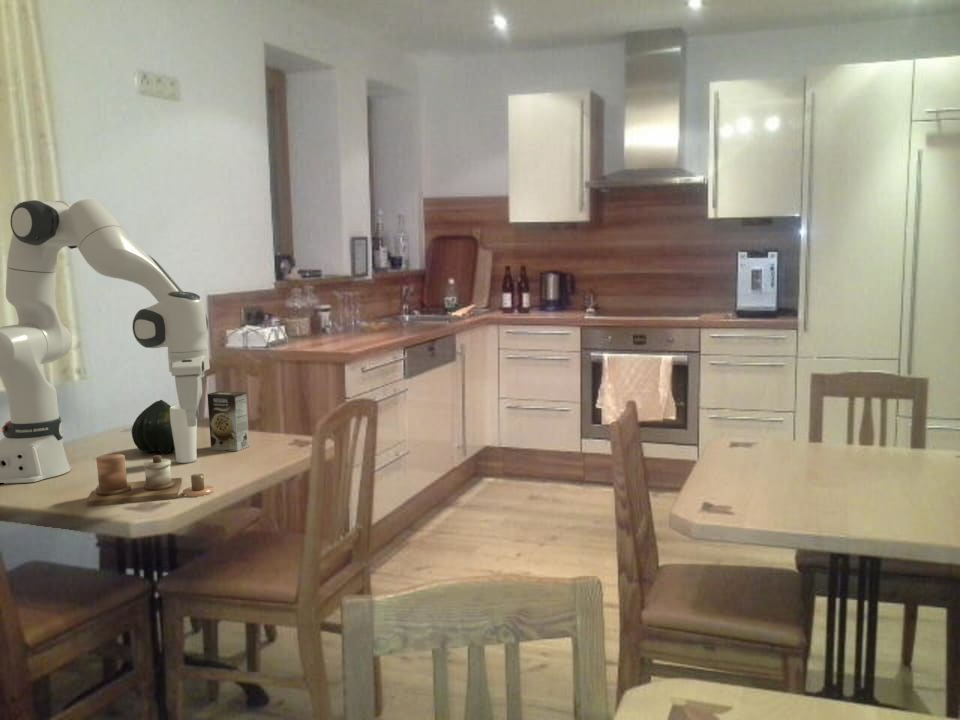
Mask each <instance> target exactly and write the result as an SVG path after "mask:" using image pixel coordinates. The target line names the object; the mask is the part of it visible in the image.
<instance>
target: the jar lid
mask: <svg viewBox="0 0 960 720" xmlns="http://www.w3.org/2000/svg"><path fill="white" fill-rule="evenodd" d="M204 479H205V477H204V473H195V474H191V475H190V480H191V486H189V487H187V488H185V489H183V490H182V495H183V494H184V495H186V496H201V497H205V496H204V495H206V496H209V495H211V494H213V493H214V492H215V491H214V486H211V485H206V484H205V480H204ZM184 495H183V496H184ZM186 496H185V497H186Z"/></svg>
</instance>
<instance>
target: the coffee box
mask: <svg viewBox="0 0 960 720" xmlns="http://www.w3.org/2000/svg"><path fill="white" fill-rule="evenodd" d="M247 396H248V395H247V392H246V391H230V390H229V391H226V390H219V391H214V392H213V391H212V392H211V393H210V392H209V393H208V394H207V406H208V410H207V411H208V422H209V425H208V426H209V438H210V439H209V440H210V450H213V451H226V450H229V451H230V452H239V451H242V450H244V449H246V447H247V448H249V447H250V437H249V419H248V417H249V415H248V414H249V413H248V399H247V398H248V397H247ZM248 446H249V447H248ZM243 448H244V449H243ZM241 449H242V450H241ZM229 451H228V452H229Z"/></svg>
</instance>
